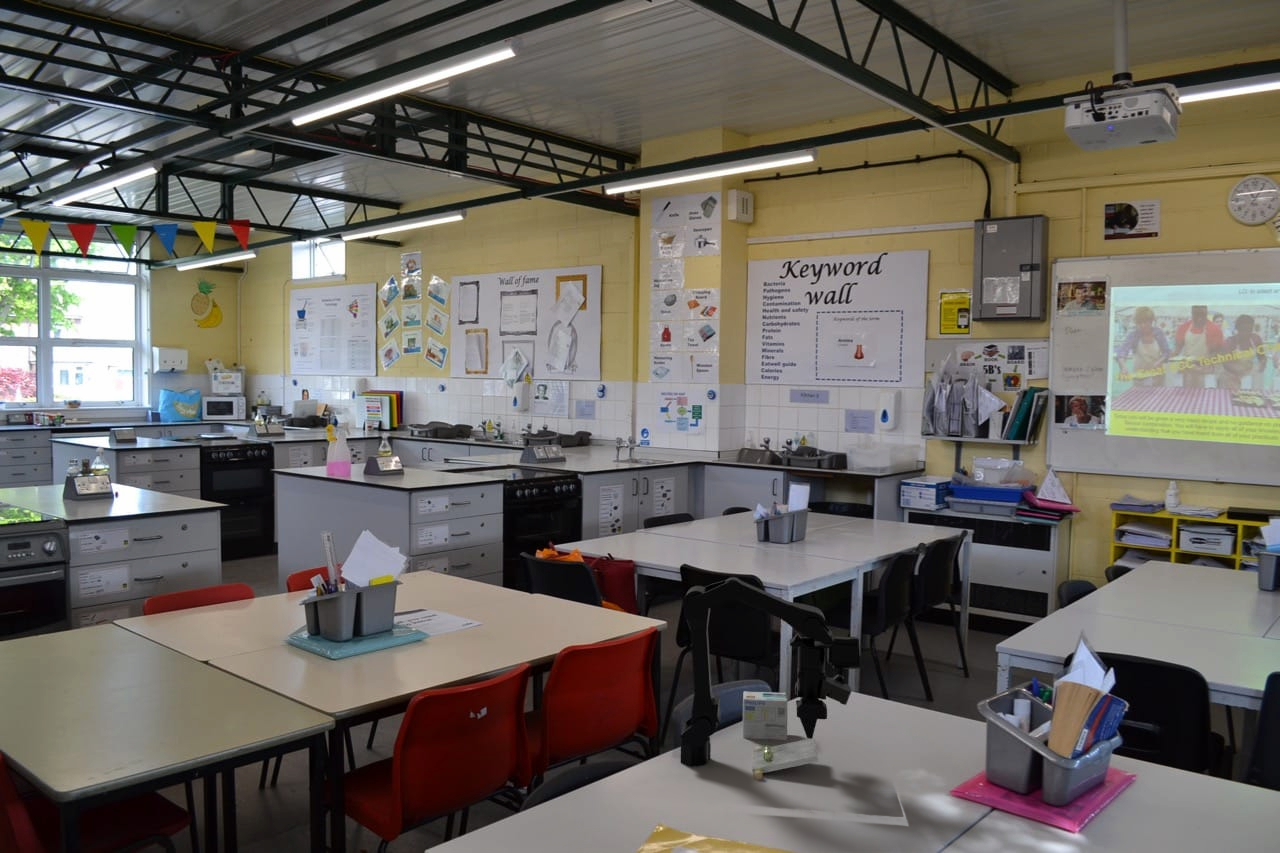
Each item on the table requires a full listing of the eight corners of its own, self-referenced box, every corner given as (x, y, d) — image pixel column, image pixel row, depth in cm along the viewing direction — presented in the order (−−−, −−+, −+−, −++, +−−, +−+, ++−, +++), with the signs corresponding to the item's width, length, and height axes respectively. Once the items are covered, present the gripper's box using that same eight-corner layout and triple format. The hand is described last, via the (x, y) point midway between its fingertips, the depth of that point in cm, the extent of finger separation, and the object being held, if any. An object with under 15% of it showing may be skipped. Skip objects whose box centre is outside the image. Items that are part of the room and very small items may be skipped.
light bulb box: (786, 735, 222) (786, 691, 222) (788, 745, 215) (788, 700, 215) (742, 733, 223) (742, 690, 223) (742, 743, 216) (743, 698, 216)
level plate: (753, 775, 194) (750, 762, 194) (754, 755, 205) (751, 743, 205) (818, 761, 192) (814, 748, 192) (815, 742, 203) (812, 730, 203)
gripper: (852, 681, 187) (851, 756, 187) (845, 657, 206) (844, 726, 206) (797, 678, 189) (796, 752, 189) (795, 654, 207) (794, 722, 207)
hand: (809, 738), depth 198 cm, fingers closed
